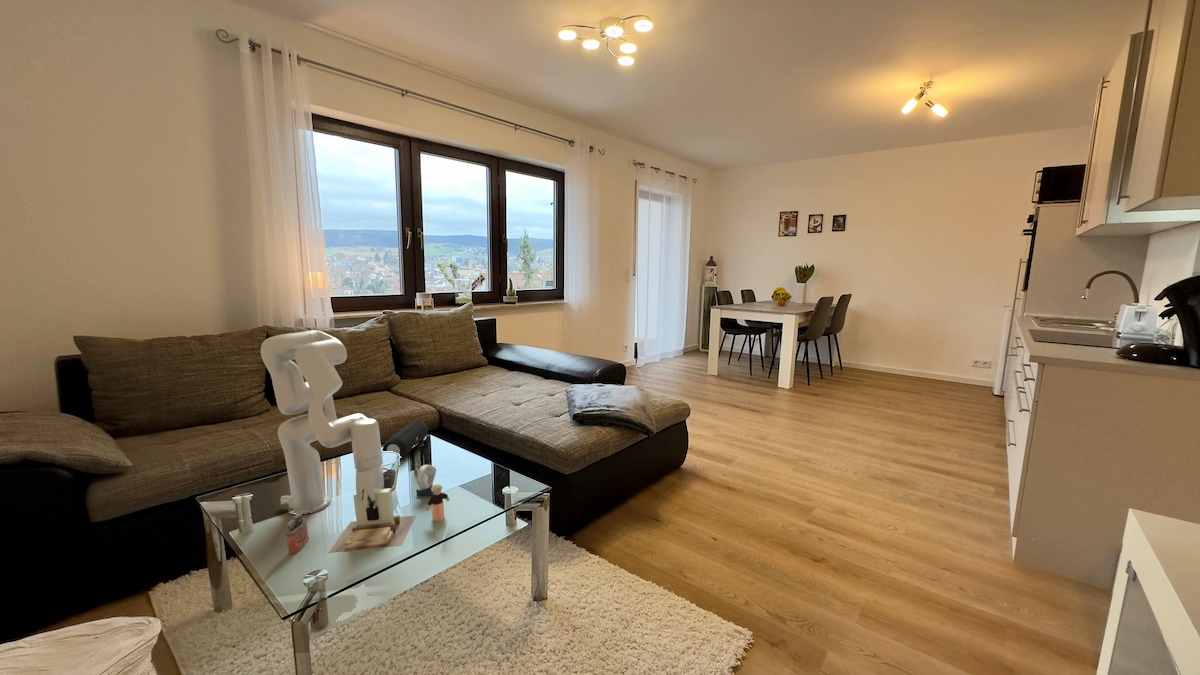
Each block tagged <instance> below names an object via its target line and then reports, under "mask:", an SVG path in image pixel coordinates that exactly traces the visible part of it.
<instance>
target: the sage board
mask: <svg viewBox="0 0 1200 675" xmlns="http://www.w3.org/2000/svg"><path fill="white" fill-rule="evenodd" d="M392 497H393V496H392V488H390V487H389V488H383V489H381V490H380V491H379V493H378V497H377V498H376V507H378V513H379V519H378V520H373V521H368V520H367V512H366V509H365V508H363V500H362V501H361V502H358V501H357V493H356V491H355V492H354V493H353V504H354V513H355V521H357V526H365V525H375V524H385V523H395V522H394V516H395V513H394V506H393V498H392ZM369 503H373V501H371V502H369Z"/></svg>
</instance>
